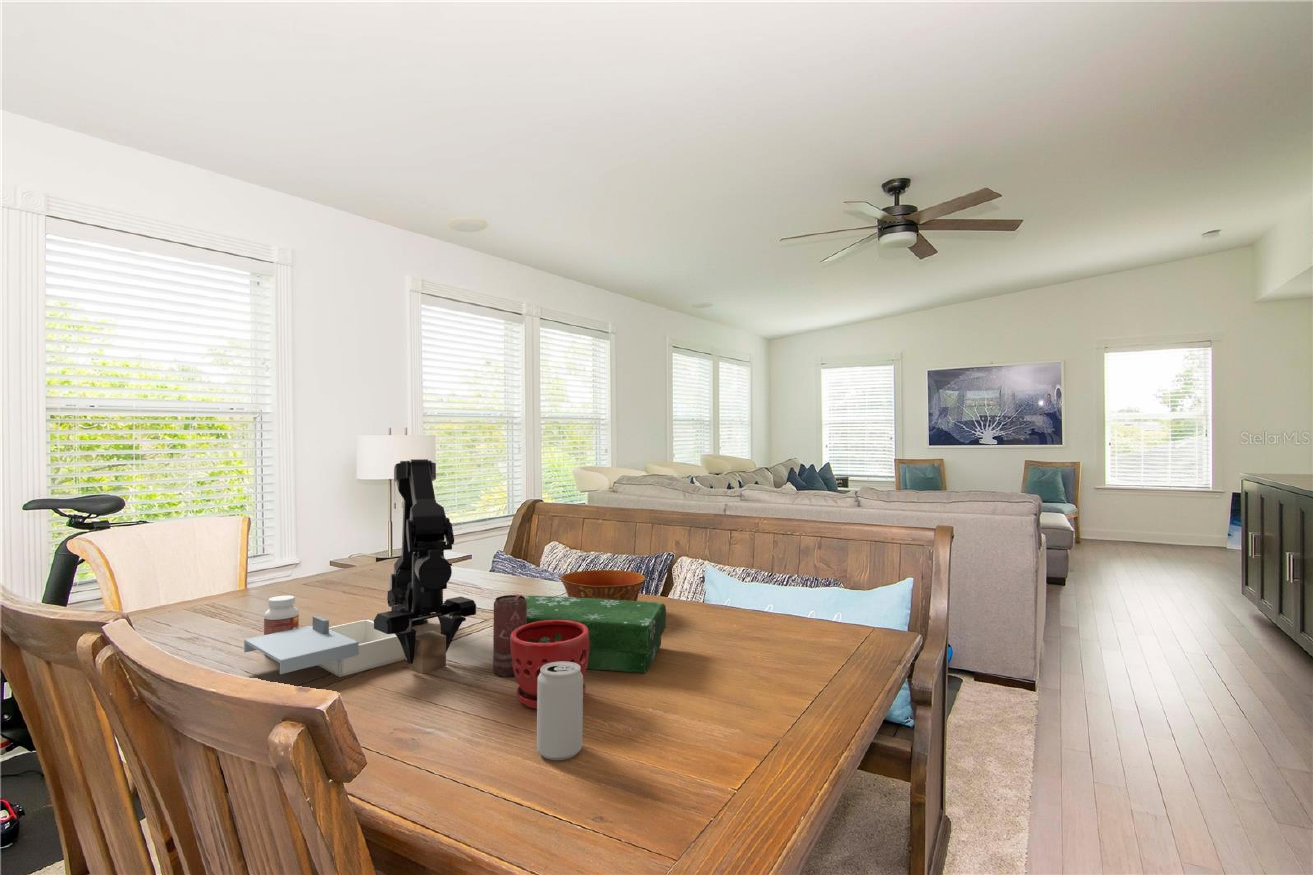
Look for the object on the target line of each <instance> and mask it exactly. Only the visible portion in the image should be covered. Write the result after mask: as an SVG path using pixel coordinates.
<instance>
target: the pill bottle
mask: <svg viewBox="0 0 1313 875" xmlns="http://www.w3.org/2000/svg"><path fill="white" fill-rule="evenodd" d="M295 602H296V601H295V596H294V595H278V596H273V597H270V598H268V601H267V605H268V607H269V609H267V610H266V611H265V613H264V615H263V635H268V634H273V633H278V632H283V631H287V630H292V629H297V628H300V627H299V625H300V624H299V620H300V618H299V617H300V616H299V615H300V613H299V609H298V608H297V607H296V606H294V605H295Z"/></svg>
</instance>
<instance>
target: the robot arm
mask: <svg viewBox="0 0 1313 875" xmlns="http://www.w3.org/2000/svg"><path fill="white" fill-rule="evenodd" d="M393 480H394V482H396V486H397V491H398V493H399V494H400V497H402V499H403V507H402V508H403V509H402V528H401V529H402V534H401V555H399V557H398V558H397V560H396V561H395V563H394V564H393V573H390V578H389V580H390V581H389V590H387V597H386V600H387V605H388V607H389V608H391V610H389V611H384V612H379V613H377V614H376V616H375V617H374V619H373V622H374V629H376V630H378V631H381V632H383V633H386V634H395V635H396V636H397V638H398V639H399V641H400V643H401V646H402V648H403V651H404V654H405V656H406V659H405V660H406V661H407V664H408V663H409V664H412V663H413V659H414V652H415V640H416V634H417V630H416V629H414V628H412V626H417V625H420V624H425V623H428V622H429V619H434V618H437V619H438V622H439V625H440V634H443V635H445V636H446V653H447V652H448V649H449V647H450V646H451V644H452V642H453V639H454V638H455V635H457V634H456V633H457V631H458V630H460V627H461V625H462V623H463V622H466V621H467V618H466V617H470V616H471V617H472V616H475V615H476V614H477V603H476V602H475V601H474V599H472V598H468V597H464V596H457V597H456V596H455V597H453V598H452V597H451V598H447V599H445V601H444V590H445V589H446V590H447V589H448V582H449V581H450V579H451V578H452V573H453V572H452V566H451V564H450V561H448V560H447V558H446V557H445V551H448V550H450V551H451V550H453V545H454V544H455V536H454V530H453V529H454V528H453V523H451V519H450V518H449V517H447V515H446V512H445V508H444V506H442V505H441V504H439V503H438V502H437V501H436V500H437V499H436V495H435V491H434V490H435V489H434V485H433V484H434V483H433V482H434V481H435V480H437V464H436V462H433V461H432V460H429V459H428V458H427V459H425V458H424V459H421V458H418V459H409V460H400V462H398V463H396V464H394V467H393Z"/></svg>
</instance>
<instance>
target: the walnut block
mask: <svg viewBox="0 0 1313 875" xmlns="http://www.w3.org/2000/svg"><path fill="white" fill-rule="evenodd" d="M440 633H441V632H440ZM440 633H439V632H436V631H434V630H428V631H426V632H420V633H416V640H415V652H414V659H413V663H412V664H409V663H408V662H407V668H409V669H410V670H412V671H416V672H418V673H420V674H426V673H429V672H432V671H436V670H438V669H443V668H446V667H447V652H446V636H445V635H443V634H440Z"/></svg>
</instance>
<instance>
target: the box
mask: <svg viewBox="0 0 1313 875" xmlns="http://www.w3.org/2000/svg"><path fill="white" fill-rule="evenodd" d="M525 600H526V602H527V624H529V623H533V622H538V621H545V620H568V621H574V622H578V623H581V624H583V625H585V626H586V627H587V628H588V631H589V658H588V664H587V669H586V670H594V669H599V670H598V671H609V670H610V671H612V672H623V673H624V672H625V673H632V674H633V673H634V674H636V673H637V674H646V672H647V671H648V670H649V668H650V666H651V665H652V663H653V661H654V659H655V658H656V656H657V653H658V652H659V650H660V648H661V644H662V634H663V633H664V631H665V630H666V626H667V617H666V616H667V607H666V604H664V603H663V602H654V601H639V600H637V601H626V600H610V599H592V598H573V597H568V596H553V595H528V596H526V597H525ZM575 638H576V636H575ZM561 639H562V637H561V635H560V634H557V635H555V640H556V641H561ZM567 640H569V639H567ZM528 642H532V643H533V640H532V639H529V641H528ZM539 643H551V641H550V639H549V638H547V637H543V638H541V639H540V641H539ZM581 655H582V652H581ZM581 655H580V658H581Z"/></svg>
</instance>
